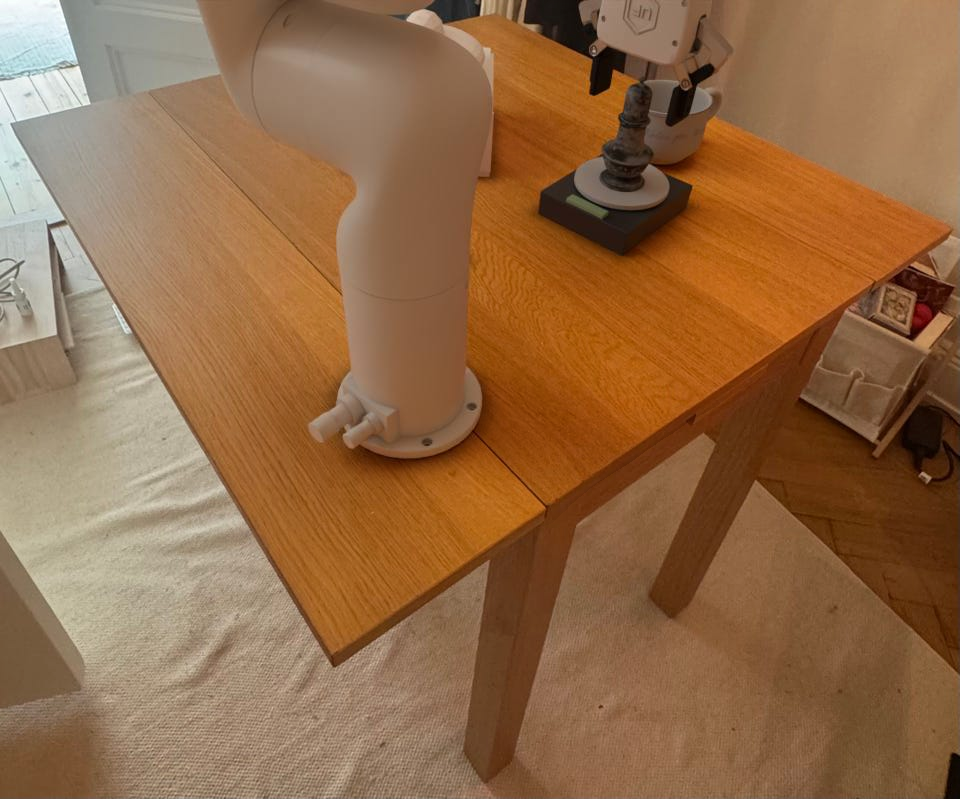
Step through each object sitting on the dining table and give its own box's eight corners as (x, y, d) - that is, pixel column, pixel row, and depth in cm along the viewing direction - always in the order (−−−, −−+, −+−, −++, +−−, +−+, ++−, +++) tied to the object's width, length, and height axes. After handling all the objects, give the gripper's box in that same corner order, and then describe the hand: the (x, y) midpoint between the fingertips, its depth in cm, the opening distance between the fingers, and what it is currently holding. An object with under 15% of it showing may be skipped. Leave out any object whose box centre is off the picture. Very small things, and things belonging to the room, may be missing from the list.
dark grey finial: (645, 169, 87) (669, 66, 78) (648, 195, 83) (673, 90, 74) (596, 164, 87) (614, 62, 78) (596, 191, 83) (615, 85, 74)
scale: (622, 256, 81) (628, 227, 78) (537, 213, 86) (541, 184, 84) (686, 207, 89) (694, 179, 86) (605, 170, 94) (610, 142, 91)
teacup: (635, 178, 93) (648, 117, 87) (603, 137, 100) (613, 78, 94) (733, 167, 96) (752, 107, 90) (695, 128, 103) (710, 70, 97)
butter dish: (490, 177, 92) (497, 45, 80) (346, 170, 91) (332, 37, 80) (491, 112, 104) (498, -11, 92) (364, 105, 103) (354, -18, 92)
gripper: (572, -93, 68) (551, 91, 80) (741, -48, 60) (688, 147, 73) (618, -105, 72) (590, 71, 84) (781, -64, 64) (724, 123, 77)
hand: (636, 106), depth 79 cm, fingers open, 9 cm apart
